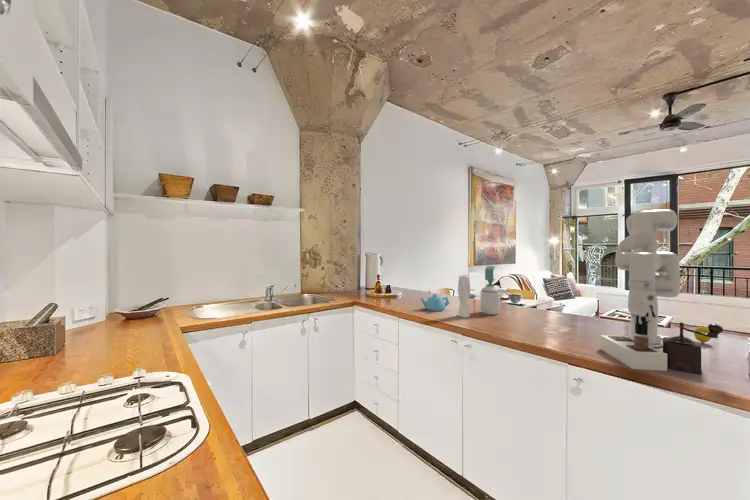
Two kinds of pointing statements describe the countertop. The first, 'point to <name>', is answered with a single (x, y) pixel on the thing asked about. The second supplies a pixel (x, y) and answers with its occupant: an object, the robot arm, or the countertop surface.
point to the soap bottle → (490, 294)
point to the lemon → (702, 337)
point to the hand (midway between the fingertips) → (641, 334)
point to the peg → (641, 343)
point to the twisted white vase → (464, 296)
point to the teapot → (435, 303)
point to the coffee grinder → (687, 349)
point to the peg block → (633, 353)
